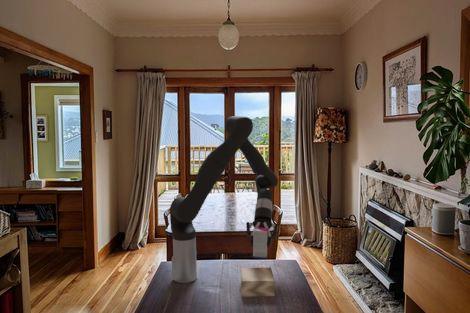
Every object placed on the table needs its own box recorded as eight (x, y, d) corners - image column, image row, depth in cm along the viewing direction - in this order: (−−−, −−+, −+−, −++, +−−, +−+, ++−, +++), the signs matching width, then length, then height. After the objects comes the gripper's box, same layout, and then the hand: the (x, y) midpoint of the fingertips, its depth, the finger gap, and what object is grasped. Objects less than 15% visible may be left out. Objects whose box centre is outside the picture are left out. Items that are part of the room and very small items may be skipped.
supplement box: (267, 258, 141) (266, 231, 140) (252, 257, 142) (252, 230, 141) (268, 253, 146) (268, 227, 145) (254, 253, 147) (254, 226, 147)
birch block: (241, 297, 125) (241, 281, 124) (240, 282, 137) (240, 268, 136) (274, 296, 125) (274, 280, 124) (271, 282, 137) (270, 267, 136)
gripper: (246, 205, 151) (241, 240, 140) (279, 207, 148) (277, 242, 138) (248, 214, 157) (244, 249, 146) (280, 216, 154) (278, 251, 143)
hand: (260, 245), depth 142 cm, fingers closed on supplement box, 5 cm apart
